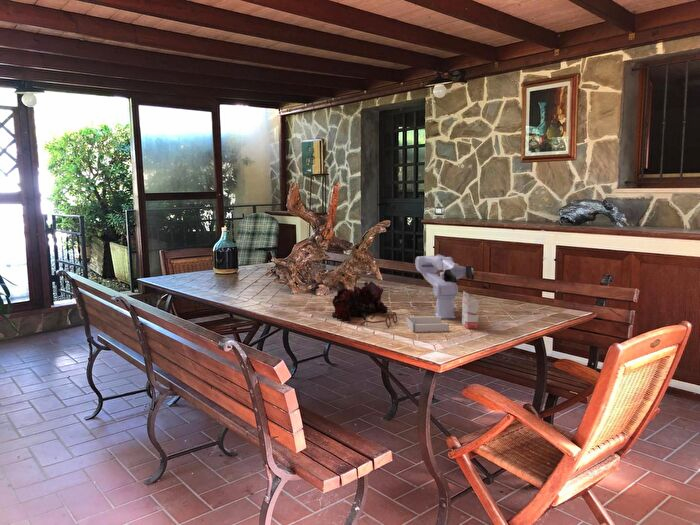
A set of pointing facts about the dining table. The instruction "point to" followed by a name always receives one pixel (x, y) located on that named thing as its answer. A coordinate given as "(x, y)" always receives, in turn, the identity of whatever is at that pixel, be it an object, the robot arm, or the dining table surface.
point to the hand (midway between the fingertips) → (464, 278)
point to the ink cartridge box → (469, 311)
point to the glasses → (383, 320)
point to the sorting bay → (426, 324)
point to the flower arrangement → (358, 302)
